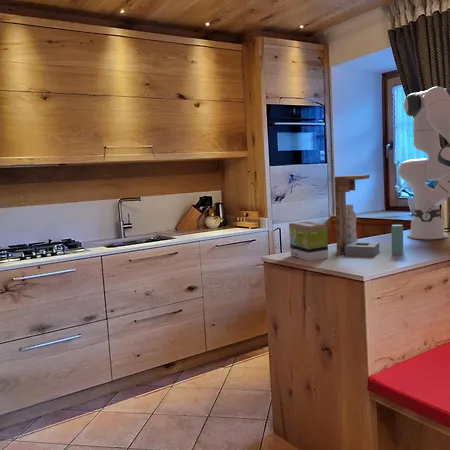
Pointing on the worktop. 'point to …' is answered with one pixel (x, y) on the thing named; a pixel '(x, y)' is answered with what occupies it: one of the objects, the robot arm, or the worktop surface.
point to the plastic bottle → (351, 224)
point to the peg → (397, 239)
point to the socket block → (362, 249)
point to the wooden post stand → (343, 207)
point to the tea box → (308, 240)
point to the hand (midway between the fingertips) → (424, 211)
